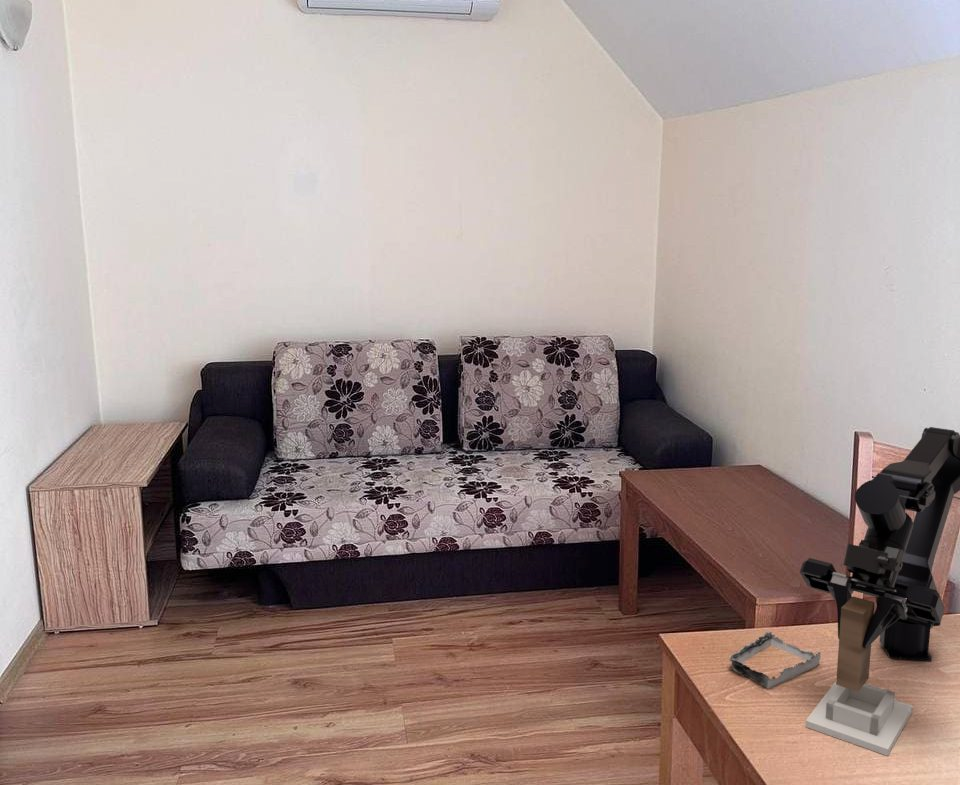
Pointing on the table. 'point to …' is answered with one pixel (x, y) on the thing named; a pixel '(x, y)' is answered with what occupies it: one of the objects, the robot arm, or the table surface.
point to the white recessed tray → (861, 716)
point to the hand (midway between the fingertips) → (852, 643)
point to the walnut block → (854, 644)
